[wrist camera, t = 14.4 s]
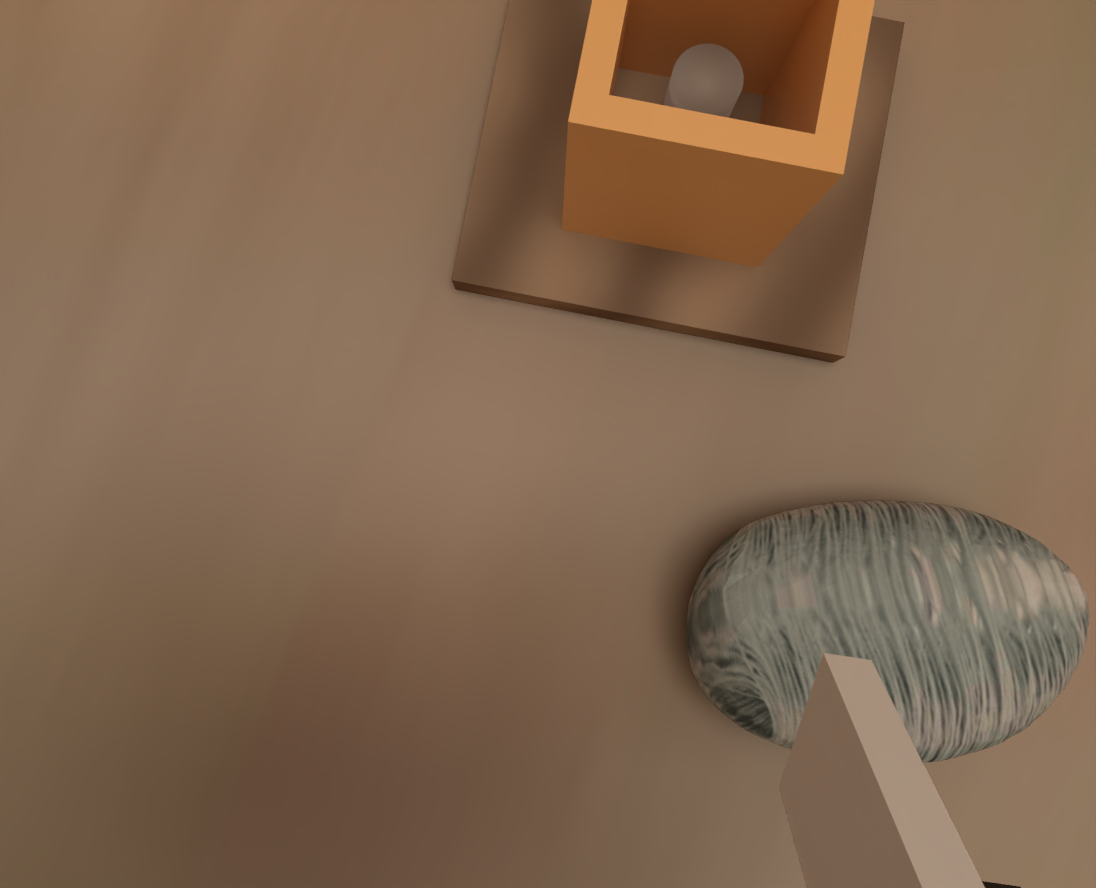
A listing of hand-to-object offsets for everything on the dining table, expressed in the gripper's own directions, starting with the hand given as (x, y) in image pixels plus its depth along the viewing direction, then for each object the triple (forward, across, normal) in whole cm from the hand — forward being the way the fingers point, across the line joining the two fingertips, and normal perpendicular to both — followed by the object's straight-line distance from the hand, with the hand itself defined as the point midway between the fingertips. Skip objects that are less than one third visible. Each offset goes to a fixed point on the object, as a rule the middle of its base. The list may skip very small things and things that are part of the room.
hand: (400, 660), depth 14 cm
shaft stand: (+27, +6, +6) cm, 28 cm away
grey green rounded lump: (+20, +15, -9) cm, 26 cm away
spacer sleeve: (+26, +6, +7) cm, 27 cm away
